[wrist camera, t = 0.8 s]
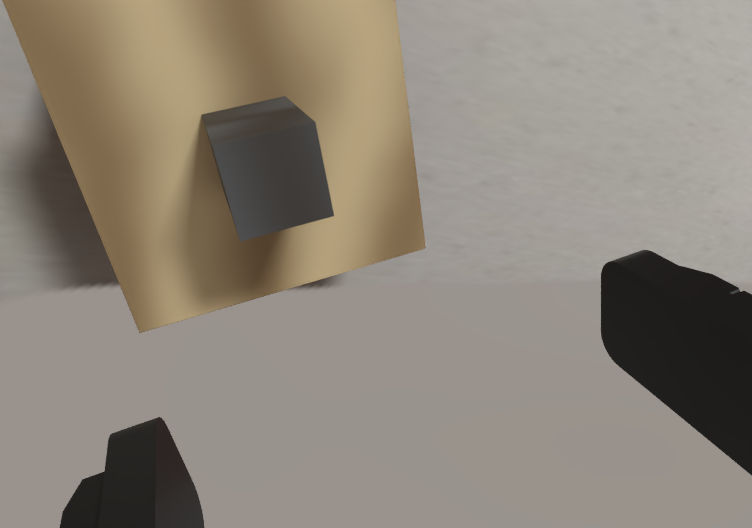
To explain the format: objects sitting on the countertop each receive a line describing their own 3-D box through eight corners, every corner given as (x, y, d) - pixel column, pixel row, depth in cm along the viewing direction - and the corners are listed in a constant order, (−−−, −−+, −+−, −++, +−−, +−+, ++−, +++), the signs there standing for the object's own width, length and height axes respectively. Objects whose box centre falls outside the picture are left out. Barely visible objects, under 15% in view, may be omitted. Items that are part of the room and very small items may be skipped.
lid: (140, 312, 26) (136, 406, 20) (11, -7, 20) (-47, -3, 14) (411, 234, 29) (475, 297, 23) (371, -66, 23) (444, -83, 17)
